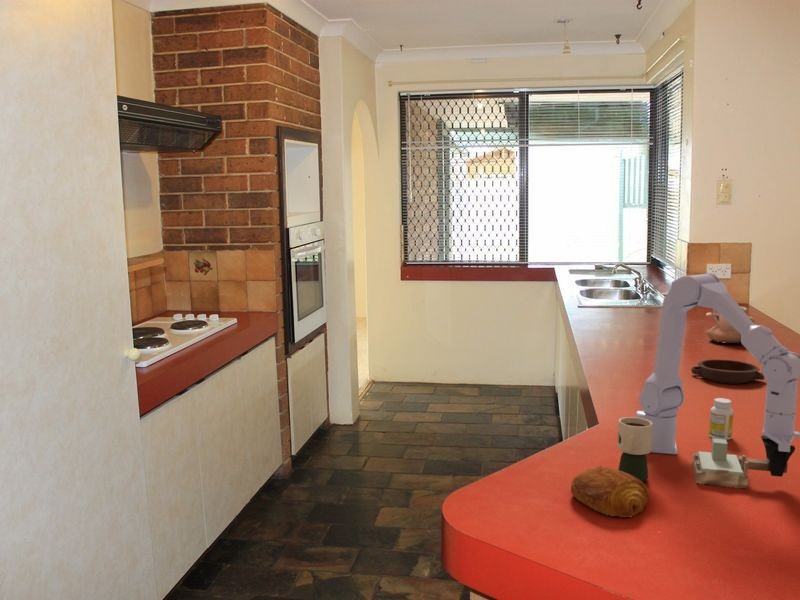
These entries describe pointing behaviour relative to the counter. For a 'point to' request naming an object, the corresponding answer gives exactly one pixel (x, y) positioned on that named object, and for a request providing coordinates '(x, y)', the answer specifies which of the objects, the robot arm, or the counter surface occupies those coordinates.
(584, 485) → the croissant
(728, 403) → the supplement bottle
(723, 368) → the dish
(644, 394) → the robot arm
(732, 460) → the lid
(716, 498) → the counter surface
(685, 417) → the counter surface
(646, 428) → the character mug
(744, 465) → the box
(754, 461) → the brown rectangular bar
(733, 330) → the ceramic jug
